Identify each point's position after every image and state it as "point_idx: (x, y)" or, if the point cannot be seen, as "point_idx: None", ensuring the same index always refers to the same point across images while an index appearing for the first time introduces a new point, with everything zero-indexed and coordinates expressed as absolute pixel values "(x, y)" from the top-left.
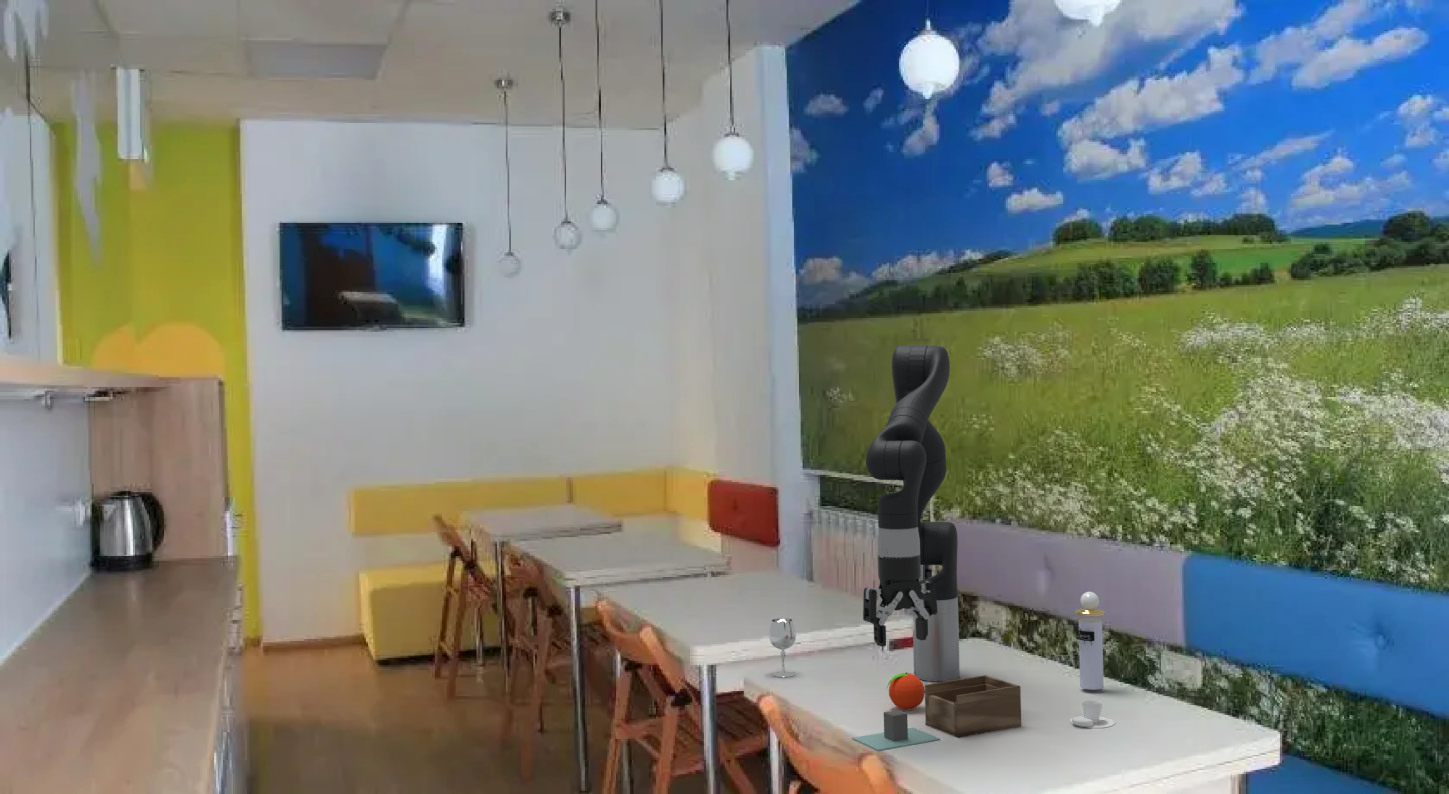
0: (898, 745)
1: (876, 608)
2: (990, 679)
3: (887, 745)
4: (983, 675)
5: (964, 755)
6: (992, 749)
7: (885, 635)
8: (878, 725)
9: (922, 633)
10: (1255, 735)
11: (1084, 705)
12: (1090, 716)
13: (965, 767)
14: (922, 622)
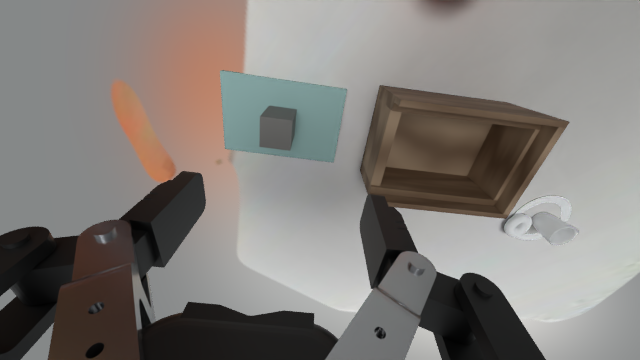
0: (262, 150)
1: (62, 286)
2: (543, 145)
3: (248, 142)
4: (563, 121)
5: (309, 219)
6: (352, 222)
7: (183, 235)
8: (313, 24)
9: (362, 241)
10: (562, 314)
11: (549, 232)
12: (536, 229)
13: (280, 244)
14: (369, 279)
